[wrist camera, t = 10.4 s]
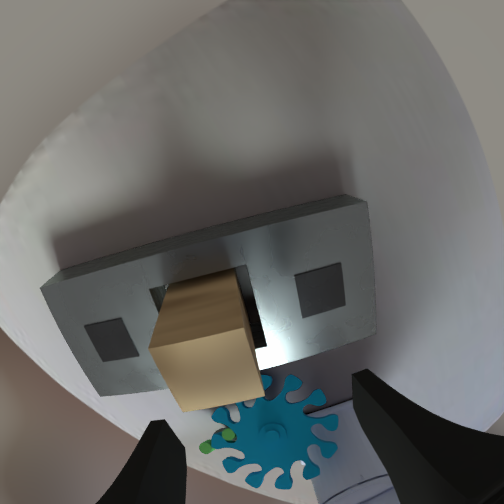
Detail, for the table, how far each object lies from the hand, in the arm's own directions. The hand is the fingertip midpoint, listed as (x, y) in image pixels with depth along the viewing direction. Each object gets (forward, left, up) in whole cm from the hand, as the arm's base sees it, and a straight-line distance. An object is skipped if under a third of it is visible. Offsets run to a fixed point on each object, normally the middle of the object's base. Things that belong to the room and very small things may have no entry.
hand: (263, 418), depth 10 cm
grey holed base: (+1, +2, -10) cm, 10 cm away
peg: (+1, +2, -10) cm, 11 cm away
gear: (-10, +1, -11) cm, 15 cm away
